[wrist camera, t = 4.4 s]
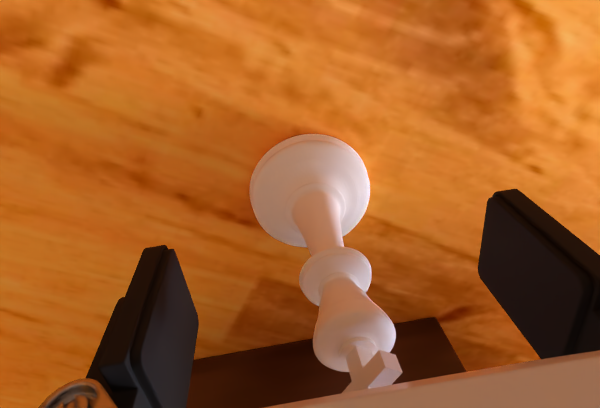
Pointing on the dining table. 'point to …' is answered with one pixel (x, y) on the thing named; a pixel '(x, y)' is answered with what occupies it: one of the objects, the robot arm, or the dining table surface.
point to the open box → (310, 370)
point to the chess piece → (328, 250)
